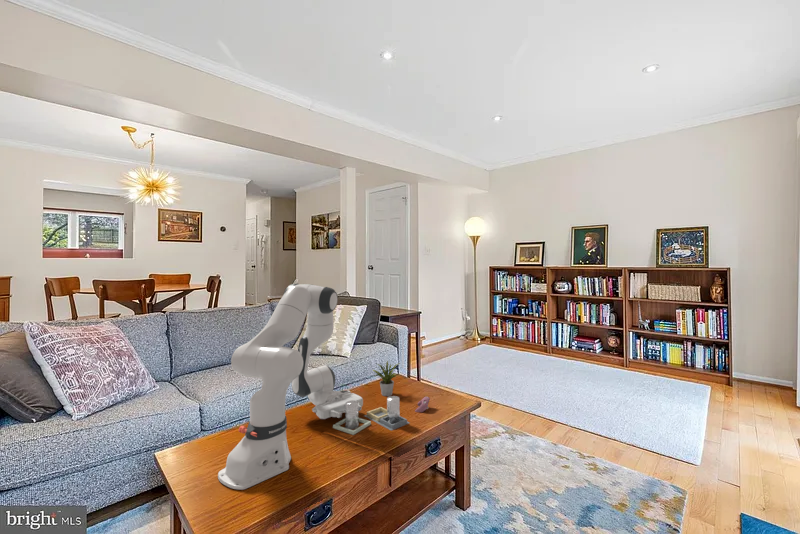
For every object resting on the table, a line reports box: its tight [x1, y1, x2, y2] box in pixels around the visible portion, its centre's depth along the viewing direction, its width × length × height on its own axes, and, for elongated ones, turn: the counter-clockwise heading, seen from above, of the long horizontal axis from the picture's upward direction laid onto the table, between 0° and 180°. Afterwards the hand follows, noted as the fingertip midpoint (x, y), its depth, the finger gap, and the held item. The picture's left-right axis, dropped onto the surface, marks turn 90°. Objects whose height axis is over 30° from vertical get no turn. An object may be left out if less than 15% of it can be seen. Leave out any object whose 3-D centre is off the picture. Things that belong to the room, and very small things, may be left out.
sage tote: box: [332, 417, 372, 436], centre depth 145 cm, size 11×11×2 cm
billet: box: [386, 395, 401, 424], centre depth 147 cm, size 5×5×10 cm
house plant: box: [372, 360, 401, 397], centre depth 183 cm, size 14×14×16 cm
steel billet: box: [345, 400, 359, 430], centre depth 145 cm, size 5×5×10 cm
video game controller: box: [414, 395, 431, 413], centre depth 162 cm, size 10×5×7 cm, turn 169°
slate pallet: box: [364, 406, 411, 432], centre depth 151 cm, size 18×10×3 cm, turn 41°
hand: (350, 412), depth 145 cm, fingers open, 8 cm apart
